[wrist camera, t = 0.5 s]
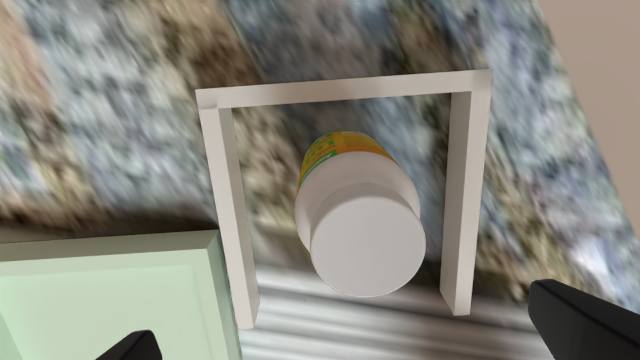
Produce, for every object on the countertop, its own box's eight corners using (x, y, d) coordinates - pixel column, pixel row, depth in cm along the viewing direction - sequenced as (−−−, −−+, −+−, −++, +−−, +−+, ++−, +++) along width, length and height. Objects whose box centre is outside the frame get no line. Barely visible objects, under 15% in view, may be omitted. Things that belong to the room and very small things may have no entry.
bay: (453, 289, 23) (469, 314, 20) (246, 303, 23) (238, 329, 20) (470, 70, 18) (493, 68, 16) (210, 88, 18) (194, 89, 16)
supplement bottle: (322, 113, 19) (327, 147, 10) (401, 148, 20) (478, 211, 10) (288, 191, 20) (265, 285, 11) (363, 221, 21) (400, 334, 12)
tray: (252, 413, 26) (246, 447, 24) (49, 425, 26) (23, 460, 24) (219, 229, 21) (206, 248, 19) (-34, 246, 21) (-78, 267, 19)
